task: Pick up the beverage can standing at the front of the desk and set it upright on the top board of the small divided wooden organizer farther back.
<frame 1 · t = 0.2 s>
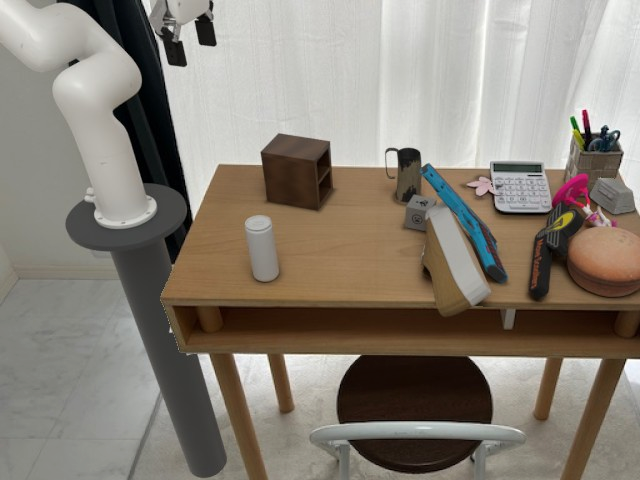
hand: (193, 55, 103), 36 cm above the table, tool pointing down, fingers open, 9 cm apart
beverage can: (266, 276, 117), on the table
divided wooden organizer: (300, 195, 138), on the table
mineral specimen: (621, 198, 132), point 4 cm above the table
dice cube: (420, 223, 130), on the table, touching sneaker
round sponge cake: (616, 232, 113), point 9 cm above the table, touching decorative sign
sneaker: (468, 242, 114), point 7 cm above the table, touching dice cube, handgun
mug: (402, 198, 138), on the table
decorative sign: (535, 255, 121), point 1 cm above the table, touching round sponge cake
figurine: (568, 190, 132), point 5 cm above the table
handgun: (470, 249, 109), point 9 cm above the table, touching sneaker
flower: (487, 182, 140), point 2 cm above the table
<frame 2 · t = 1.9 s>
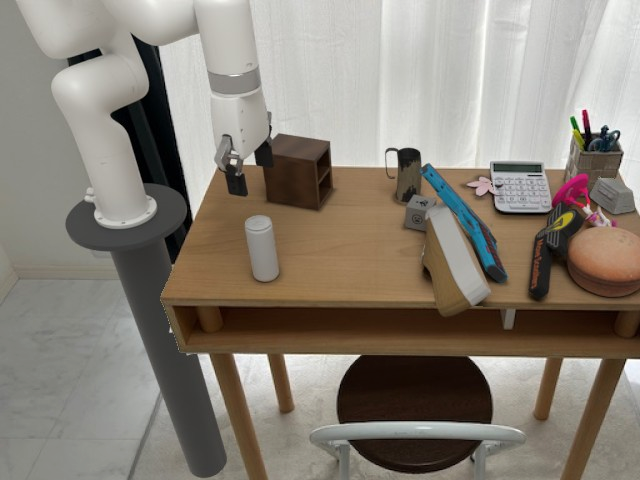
hand: (252, 180, 103), 20 cm above the table, tool pointing down, fingers open, 9 cm apart
nothing on the table moved.
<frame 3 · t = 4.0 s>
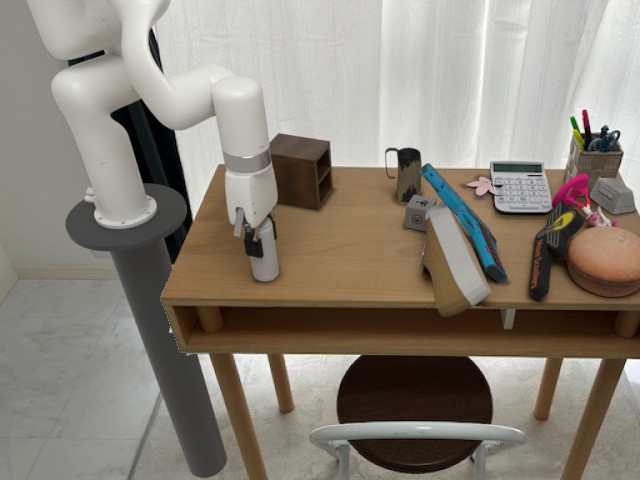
hand: (262, 246, 112), 7 cm above the table, tool pointing down, fingers closed on beverage can, 4 cm apart
beverage can: (266, 276, 117), on the table, touching gripper
everything else where it was.
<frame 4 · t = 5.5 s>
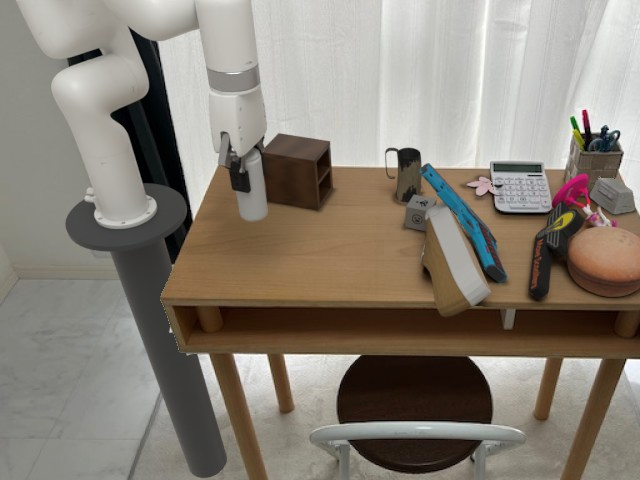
hand: (249, 181, 104), 20 cm above the table, tool pointing down, fingers closed on beverage can, 4 cm apart
beverage can: (254, 216, 108), point 13 cm above the table, touching gripper
everything else where it was.
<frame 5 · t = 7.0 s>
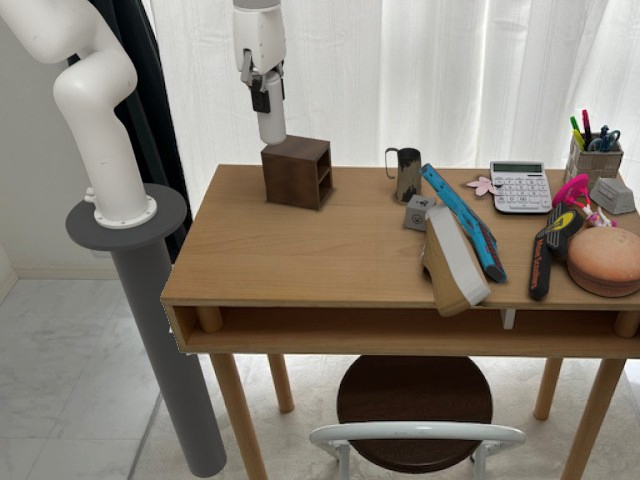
hand: (269, 104, 110), 27 cm above the table, tool pointing down, fingers closed on beverage can, 4 cm apart
beverage can: (273, 140, 114), point 20 cm above the table, touching gripper
everything else where it was.
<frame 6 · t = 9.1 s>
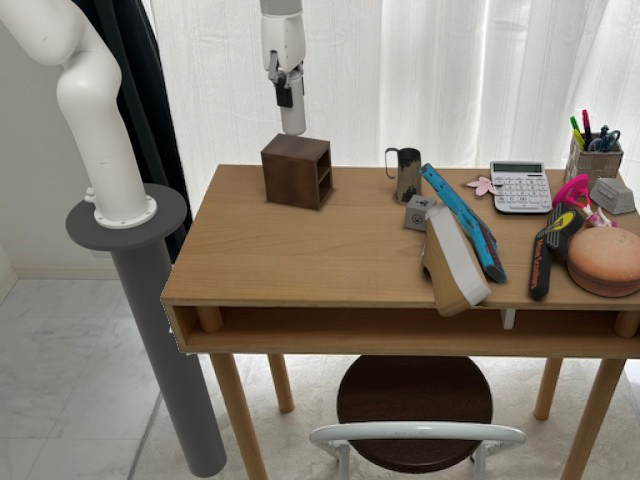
hand: (291, 99, 123), 22 cm above the table, tool pointing down, fingers closed on beverage can, 4 cm apart
beverage can: (294, 132, 128), point 15 cm above the table, touching gripper
everything else where it was.
when the fingers open (19 cm above the table, at t = 10.4 s): beverage can stays where it is, resting on divided wooden organizer.
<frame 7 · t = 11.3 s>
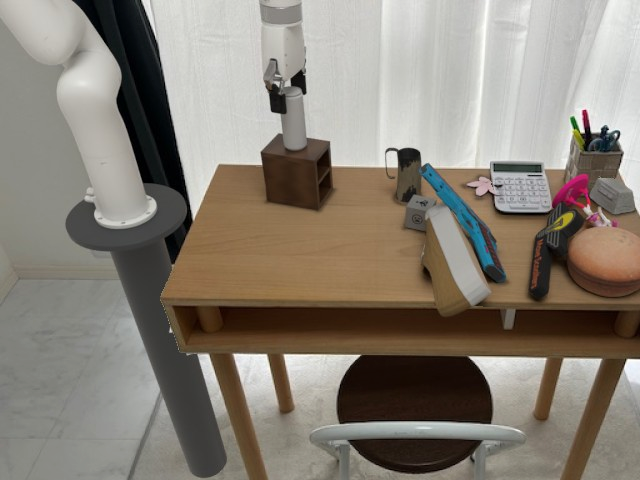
hand: (289, 103, 124), 22 cm above the table, tool pointing down, fingers open, 9 cm apart
beverage can: (295, 147, 130), point 12 cm above the table, touching divided wooden organizer
dice cube: (420, 223, 130), on the table
sneaker: (468, 242, 114), point 7 cm above the table, touching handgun
everything else where it was.
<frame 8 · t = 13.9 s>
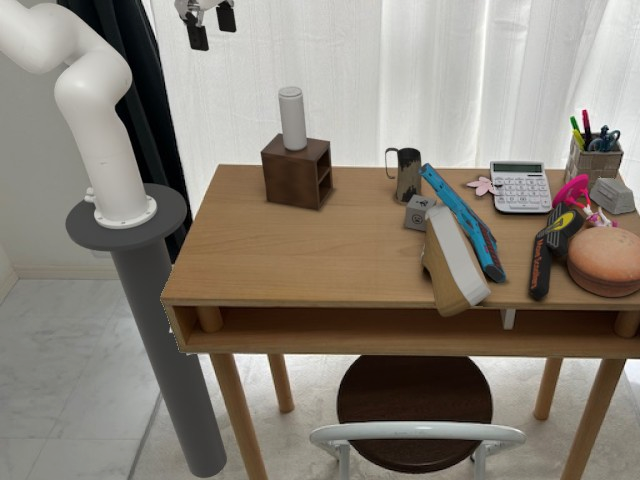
hand: (214, 40, 107), 36 cm above the table, tool pointing down, fingers open, 9 cm apart
dice cube: (420, 223, 130), on the table, touching sneaker
sneaker: (468, 242, 114), point 7 cm above the table, touching dice cube, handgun
everything else where it was.
at the end: beverage can inside the target area on the divided wooden organizer (0.0 cm from its centre), point 11.8 cm above the divided wooden organizer's base; beverage can tilted 0°; the gripper is holding nothing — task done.
